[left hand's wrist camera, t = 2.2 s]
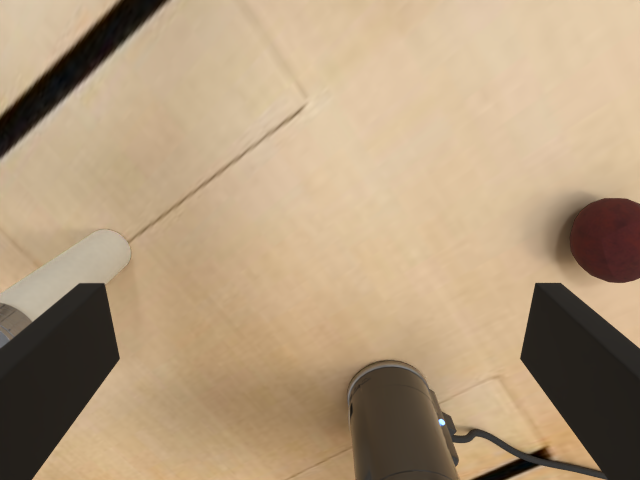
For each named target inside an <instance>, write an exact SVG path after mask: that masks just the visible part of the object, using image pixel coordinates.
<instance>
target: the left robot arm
mask: <svg viewBox="0 0 640 480" xmlns="http://www.w3.org/2000/svg"><path fill="white" fill-rule="evenodd" d="M119 359H120V357H119V352H118V347H117V342H116V337H115V332H114V328H113V323H112V318H111V313H110V308H109V303H108V298H107V293H106V288H105V283H79V284H78V285H76V286H75V287H74V288H73V289H72V290H70V291H69V292H68V293H67V294H66V295H64V296H63V297H62V298H61V299H60V300H58V301H57V302H56V303H55V304H53V305H52V306H51V307H50V308H49V309H47V310H46V311H45V312H44V313H43V314H41V315H40V316H39V317H38V318H37V319H35V320H34V321H33V322H32V323H31V324H29V325H28V326H27V327H26V328H25V329H23V330H22V331H21V332H20V333H18V334H17V335H16V336H15V337H14V338H12V339H11V340H10V341H9V342H8V343H6V344H5V345H4V346H3V347H2V348H0V480H32V479H33V477H34V476H35V475H36V473H37V472H38V470H39V469H40V468H41V466H42V465H43V464H44V462H45V461H46V459H47V458H48V457H49V455H50V454H51V453H52V451H53V450H54V448H55V447H56V446H57V444H58V443H59V442H60V440H61V439H62V437H63V436H64V435H65V433H66V432H67V431H68V429H69V428H70V426H71V425H72V424H73V422H74V421H75V420H76V418H77V417H78V415H79V414H80V413H81V411H82V410H83V409H84V407H85V406H86V405H87V403H88V402H89V400H90V399H91V398H92V396H93V395H94V394H95V392H96V391H97V389H98V388H99V387H100V385H101V384H102V383H103V381H104V380H105V378H106V377H107V376H108V374H109V373H110V372H111V370H112V369H113V367H114V366H115V365H116V363H117V362H118V361H119ZM520 359H521V361H522V362H523V363H524V365H525V366H526V367H527V369H528V370H529V372H530V373H531V374H532V376H533V377H534V378H535V380H536V381H537V383H538V384H539V385H540V387H541V388H542V389H543V391H544V392H545V394H546V395H547V396H548V398H549V399H550V400H551V402H552V403H553V405H554V406H555V407H556V409H557V410H558V411H559V413H560V414H561V416H562V417H563V418H564V420H565V421H566V422H567V424H568V425H569V426H570V428H571V429H572V431H573V432H574V433H575V435H576V436H577V437H578V439H579V440H580V442H581V443H582V444H583V446H584V447H585V448H586V450H587V451H588V453H589V454H590V455H591V457H592V458H593V459H594V461H595V462H596V464H597V465H598V466H599V468H600V469H601V470H602V472H603V473H604V475H605V476H606V477H607V479H608V480H640V348H638V347H637V346H636V345H635V344H634V343H632V342H631V341H630V340H629V339H628V338H626V337H625V336H624V335H623V334H622V333H620V332H619V331H618V330H617V329H615V328H614V327H613V326H612V325H611V324H609V323H608V322H607V321H606V320H605V319H603V318H602V317H601V316H600V315H599V314H597V313H596V312H595V311H594V310H593V309H591V308H590V307H589V306H588V305H587V304H585V303H584V302H583V301H582V300H580V299H579V298H578V297H577V296H576V295H574V294H573V293H572V292H571V291H570V290H568V289H567V288H566V287H565V286H564V285H562V284H561V283H535V288H534V293H533V298H532V303H531V308H530V313H529V318H528V323H527V328H526V332H525V337H524V342H523V347H522V352H521V357H520Z"/></svg>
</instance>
